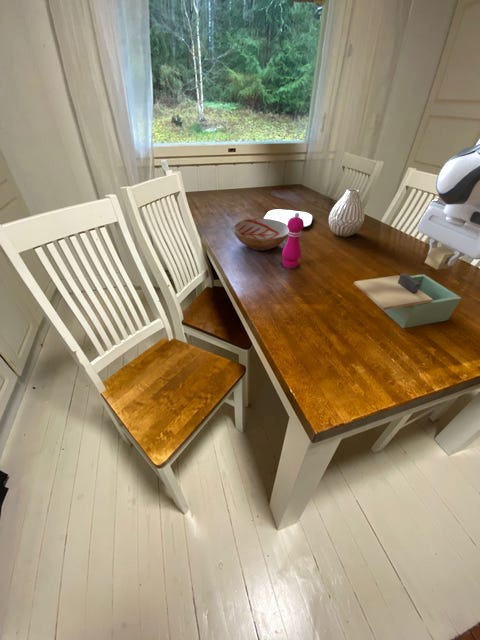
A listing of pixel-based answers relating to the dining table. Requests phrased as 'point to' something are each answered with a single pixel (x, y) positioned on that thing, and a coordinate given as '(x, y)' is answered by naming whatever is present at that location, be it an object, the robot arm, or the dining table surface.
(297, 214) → the pepper mill
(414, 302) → the lid
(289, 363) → the dining table surface
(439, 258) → the block
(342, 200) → the vase
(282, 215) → the plate
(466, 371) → the dining table surface
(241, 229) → the bowl
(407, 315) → the box
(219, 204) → the dining table surface
